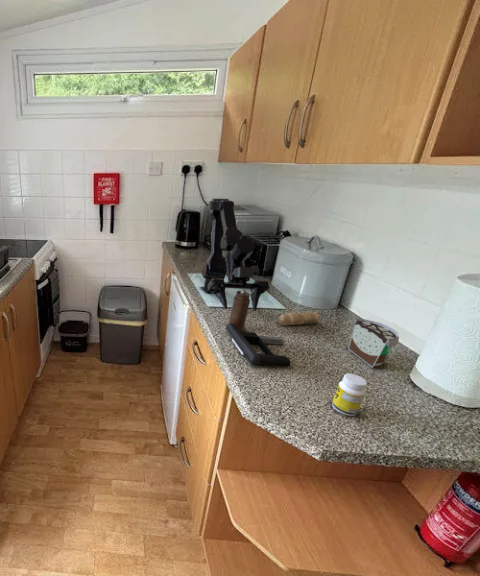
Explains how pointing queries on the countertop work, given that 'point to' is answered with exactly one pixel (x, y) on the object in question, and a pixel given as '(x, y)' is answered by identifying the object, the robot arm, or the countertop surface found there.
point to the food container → (372, 341)
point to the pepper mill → (240, 309)
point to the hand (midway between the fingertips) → (240, 309)
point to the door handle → (250, 338)
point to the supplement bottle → (349, 394)
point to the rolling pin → (299, 318)
